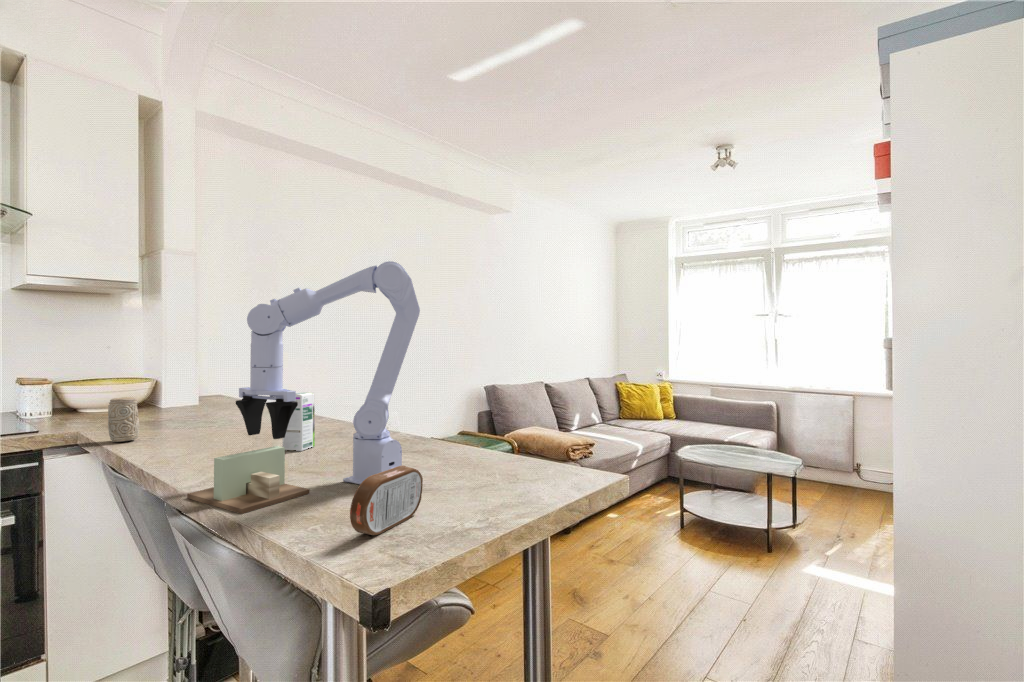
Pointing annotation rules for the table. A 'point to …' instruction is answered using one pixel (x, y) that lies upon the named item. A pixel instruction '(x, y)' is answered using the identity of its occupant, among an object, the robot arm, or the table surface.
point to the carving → (123, 419)
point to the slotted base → (253, 494)
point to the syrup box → (301, 424)
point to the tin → (386, 500)
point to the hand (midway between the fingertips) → (266, 436)
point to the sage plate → (245, 470)
